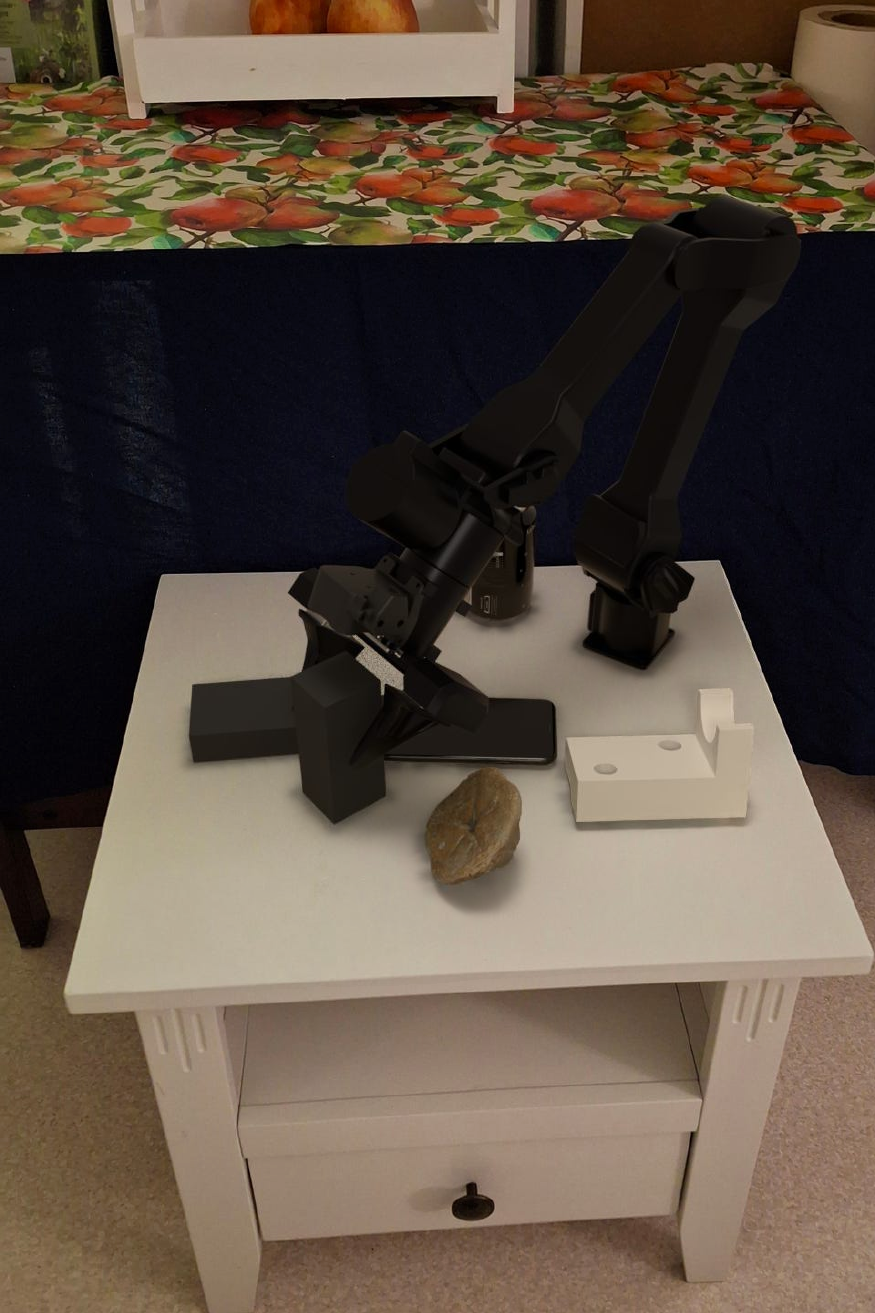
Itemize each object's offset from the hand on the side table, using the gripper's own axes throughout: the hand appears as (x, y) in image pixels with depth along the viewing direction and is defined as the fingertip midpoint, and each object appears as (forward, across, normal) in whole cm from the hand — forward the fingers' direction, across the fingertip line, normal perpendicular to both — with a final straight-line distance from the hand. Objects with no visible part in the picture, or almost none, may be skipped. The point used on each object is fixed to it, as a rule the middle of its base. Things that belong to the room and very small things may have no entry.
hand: (324, 740), depth 92 cm
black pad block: (+4, 0, +6) cm, 7 cm away
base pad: (+4, -10, +5) cm, 12 cm away
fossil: (+1, +11, +8) cm, 14 cm away
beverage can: (-14, -12, +24) cm, 30 cm away
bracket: (-10, +14, +20) cm, 26 cm away
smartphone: (-4, 0, +14) cm, 15 cm away
